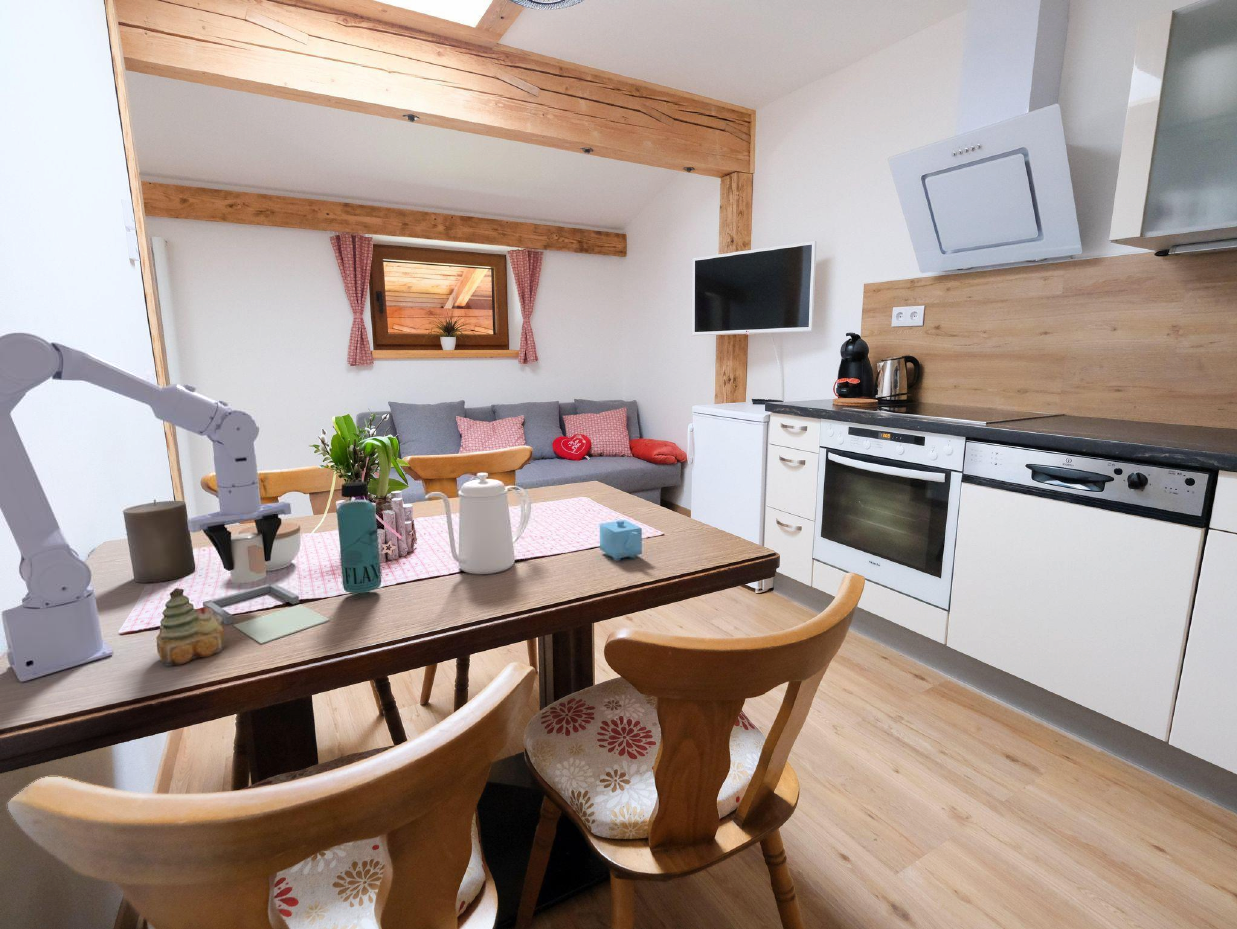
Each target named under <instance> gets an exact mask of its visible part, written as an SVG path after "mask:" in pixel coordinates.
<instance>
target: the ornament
mask: <svg viewBox="0 0 1237 929" xmlns="http://www.w3.org/2000/svg"><path fill="white" fill-rule="evenodd" d="M184 593H185V591H184V588H177V587H176V588H174V589H173V590H172V591H171V592H170V593H169V596H170V598H169V600H167V601H166V602H165V609H163V611H162V615H163V617H162V618H161V620H160V625H159V633H158V635H157V637H156V651H157V654H158V655H159V659H160V661H161V662H162V663H164V664H165V666H166V667H170V666H175V665H177V666H180V665H184V664H187V663H188V662H190V661H191V660H193V659H197V658H198V659H199V658H209V657H211V656H212V655H214V654H218V653H220V652H221V651H222V649H223V648H224V646H225V645H226V644H225V642H226V637H225V630H224V627H223V625H222V624H223V622H222V617H221V616H220V615H215V614H213V609H212V608H211V607H203V606H202V607H199V608H194V603H191V602H190V598H189V597H188V596H187V595H184Z"/></svg>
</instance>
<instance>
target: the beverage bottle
mask: <svg viewBox="0 0 1237 929" xmlns="http://www.w3.org/2000/svg"><path fill="white" fill-rule="evenodd" d="M368 494H369V490H368V486H367V483H366V481H351V482H350V481H348V482H345V483H342V484H341V497H342V498H358V497H363V496H367V495H368ZM335 510H336V518H337V527H338V528H337V530H338V539H339V549H340V550H339V556H340V561H339V563H340V568H341V569H340V573H341V580H342V581H341V584H342V588H343V589H344V591H345V592H346V593H350V594H359V593H360V594H361V593H367V592H370V591H373V590H376V589H377V588H378V589H379V588H380V586H381V584H382V580H383V579H382V574H383V573H382V570H381V565H382V562H381V558H380V557H381V554H380V550H379V549H380V548H379V537H380V536H379V534H378V532H379V527H378V525H379V524H378V522H377V513H376V510H377V508H376V505H375V504H374V503H373V502H371V501H369V499H367V500H366V499H354V500H347V501H345V502H343V503H341V504H340V505H339V507H338V508H336V509H335Z"/></svg>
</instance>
